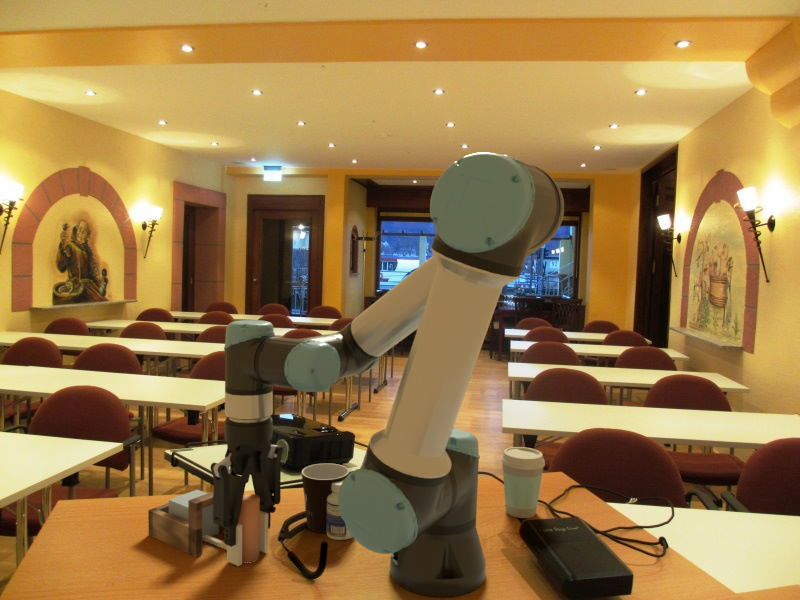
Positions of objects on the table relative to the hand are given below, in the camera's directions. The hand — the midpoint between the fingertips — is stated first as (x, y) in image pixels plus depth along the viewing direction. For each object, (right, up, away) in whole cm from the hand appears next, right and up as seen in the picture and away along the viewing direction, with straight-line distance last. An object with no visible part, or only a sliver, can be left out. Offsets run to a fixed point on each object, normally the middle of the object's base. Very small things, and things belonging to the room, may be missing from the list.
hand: (247, 555), depth 104 cm
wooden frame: (-11, +1, +7) cm, 13 cm away
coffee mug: (+11, +1, +14) cm, 18 cm away
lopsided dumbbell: (-6, 0, +4) cm, 7 cm away
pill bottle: (+14, 0, +9) cm, 17 cm away
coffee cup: (+49, 0, +21) cm, 53 cm away
